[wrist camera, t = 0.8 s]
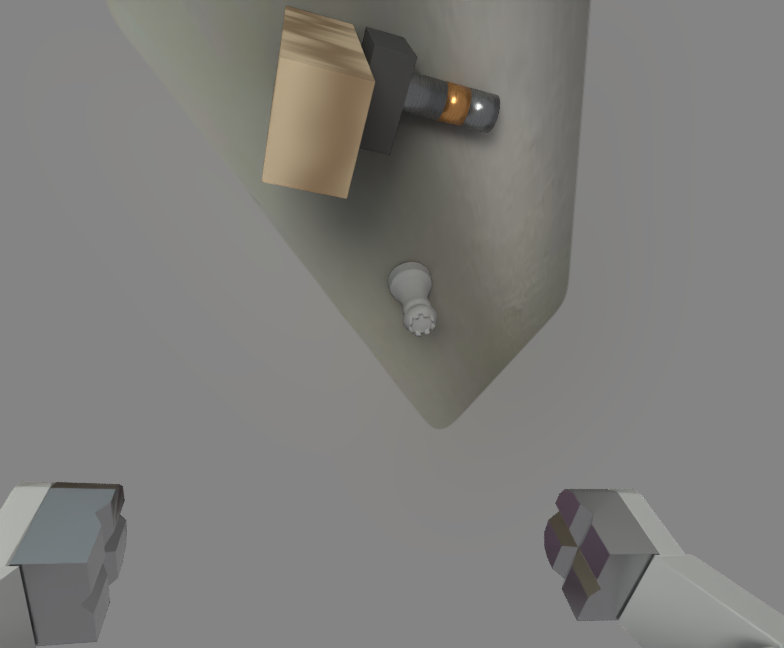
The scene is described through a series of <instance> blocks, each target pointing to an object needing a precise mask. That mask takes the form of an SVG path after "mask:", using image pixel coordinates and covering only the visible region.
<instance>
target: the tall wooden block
mask: <svg viewBox="0 0 784 648" xmlns="http://www.w3.org/2000/svg"><path fill="white" fill-rule="evenodd" d="M374 85H375V80H374V78H373V75H372V73H371V70H370V67H369V65H368V62H367V60H366V57H365V55H364V52H363V49H362V47H361V44H360V42H359V39H358V37H357V34H356V31H355V29H354V26H353V24H349V23H346V22H342V21H339V20H335V19H332V18H328V17H325V16H321V15H318V14H314V13H311V12H307V11H304V10H300V9H297V8H293V7H290V6H286V7H285V15H284V22H283V29H282V37H281V44H280V51H279V58H278V65H277V72H276V79H275V85H274V92H273V99H272V107H271V114H270V122H269V130H268V137H267V145H266V153H265V160H264V168H263V176H262V182H265V183H270V184H275V185H280V186H285V187H290V188H295V189H300V190H305V191H310V192H315V193H320V194H325V195H330V196H335V197H340V198H345V199H347V196H348V191H349V187H350V183H351V179H352V175H353V171H354V167H355V163H356V159H357V155H358V150H359V146H360V142H361V138H362V134H363V130H364V126H365V122H366V118H367V114H368V109H369V105H370V101H371V97H372V93H373V89H374Z"/></svg>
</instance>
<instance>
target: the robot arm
mask: <svg viewBox="0 0 784 648" xmlns="http://www.w3.org/2000/svg"><path fill="white" fill-rule="evenodd" d="M124 501H125V499H124V491H123V486H122V485H120V484H97V483H68V482H67V483H66V482H56V483H48V482H21V483H20V484H18V485H17V486H16V487H15V488H14V489H13V490H12V492H11V493H10V495H9V496H8V498H7V500H6V502H5V503H4V505H3V507H2V508H1V510H0V648H36V646H45V645H59V644H73V643H87V642H97V640H98V637H99V634H100V631H101V628H102V625H103V622H104V619H105V616H106V613H107V610H108V607H109V604H110V599H109V587H108V586H109V585H110V584H111V583H112V582H114V581H115V580H116V579H117V578H118V576H119V572H120V569H121V566H122V562H123V557H124V552H125V547H126V536H127V528H126V527H127V526H126V520H125V518H123V517H122V516H121V515H120V513H121V510H122V507H123V504H124ZM555 504H556V506H557V508H558V510H559V512H558V513H556V514H555V515H554V516H552V517H551V518H550V519H549V520H548V523H547V526H546V529H545V531H544V546H545V550H546V554H547V558H548V560H549V563H550V565H551V567H552V569H554V570H555V571H556V572H557V573H558V574H560V575H561V576H562V577H563V578H564V581H563V585H562V590H563V593H564V595H565V597H566V599H567V601H568V603H569V605H570V607H571V609H572V612H573V614H574V616H575V618H576V620H577V621H588V620H589V621H594V620H618V624H619V625H620V626H621V627H622V628H623V629H624V630H625V631H626V632H627V633H628V634H629V635H630V636H631V637H632V638H633V639H634V640H635V641H636V642H638V644H639V645H640V646H642V648H784V616H783V615H782V614H780V613H779V612H777V611H776V610H774V609H773V608H771V607H770V606H768V605H767V604H765V603H764V602H762V601H761V600H759V599H758V598H756V597H755V596H753V595H752V594H750V593H749V592H747V591H746V590H744V589H743V588H741V587H740V586H738V585H737V584H735V583H734V582H732V581H731V580H729V579H728V578H726V577H725V576H724V575H722V574H721V573H719V572H718V571H716V570H714V569H713V568H711V567H710V566H709V565H707V564H705V563H704V562H703V561H701V560H699V559H698V558H697V557H695V556H694V555H685V553H684V552H683V551H682V549H681V548H680V547H679V545H678V544H677V543H676V541H675V540H674V539H673V537H672V536H671V534H670V533H669V532H668V530H667V529H666V528H665V526H664V525H663V523H662V522H661V521H660V519H659V518H658V517H657V515H656V514H655V513H654V511H653V510H652V509H651V507H650V506H649V505H648V503H647V502H646V500H645V499H644V498H643V496H642V495H641V494H640V493H639V492H637V491H636V490H634V489H610V490H608V489H565V490H563V491H562V492H561V493H560V494H559V496H558V498H557V501H556V503H555Z"/></svg>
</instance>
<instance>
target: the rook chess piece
mask: <svg viewBox="0 0 784 648" xmlns="http://www.w3.org/2000/svg"><path fill="white" fill-rule="evenodd" d="M388 286H389V289H390V292H391V294H392V295H393V296H394V298H395V299H396V300H398V301H399V302H401V303H402V305H403V307H404V309H403V314H404V318H403V324H404V326H405V328H406V329H407V330H409V331H410V332H411V334H412V333H415V336H419V337H421V333H425V335H428V334H430V330H431V329H433V330H434V328H435V326H436V325H435V324H436V322H437V320H438V318H437V313H436V311H435V310H434V309H433V308H432V305H431V303H430V302H429V301H428V294H429V292H430V290H431V287H432V283H431V277H430V272H429V271H428V269H427V267H425V266H423V265H422V264H420V263H416V262H407V263H403V264H401V265H399V266H397V267H395V268H394V270H393V271H392V272H391V273H390V275H389V278H388Z"/></svg>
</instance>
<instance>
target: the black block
mask: <svg viewBox="0 0 784 648" xmlns="http://www.w3.org/2000/svg"><path fill="white" fill-rule="evenodd" d="M362 49H363V52H364V55H365V57H366V60H367V62H368V65H369V67H370V70H371V73H372V75H373V78H374V80H375V85H374V89H373V93H372V97H371V101H370V105H369V109H368V114H367V118H366V122H365V126H364V130H363V134H362V138H361V142H360V146H359V148H362V149H366V150H371V151H375V152H379V153H384V154H388V155H390V153H391V149H392V146H393V142H394V138H395V135H396V131H397V128H398V124H399V121H400V117H401V113H402V110H403V106H404V103H405V99H406V95H407V92H408V88H409V85H410V81H411V78H412V74H413V70H414V67H415V63H416V60H417V56H416V54H415V53H414V52H413V50H412V49H411V47H410V46H409V44H408V43H407V42H406V40H405V39H404V38H403V37H400V36H396V35H393V34H389V33H386V32H382V31H379V30H375V29H372V28H368V27H366V30H365V34H364V39H363V43H362Z"/></svg>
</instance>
